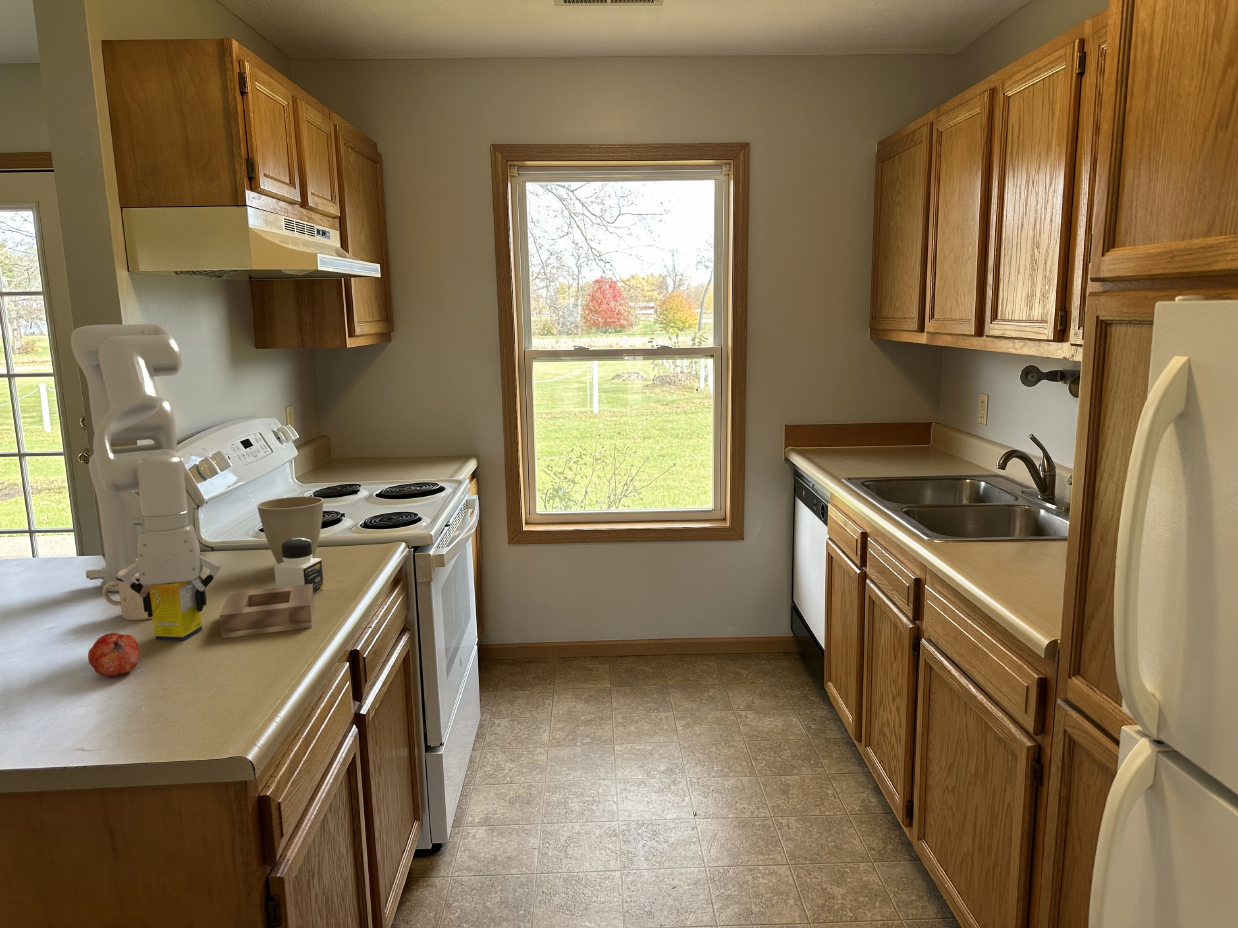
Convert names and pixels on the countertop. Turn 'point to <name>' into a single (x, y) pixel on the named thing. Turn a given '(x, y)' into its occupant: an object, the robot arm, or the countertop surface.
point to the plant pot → (291, 521)
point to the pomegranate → (114, 654)
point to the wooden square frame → (267, 611)
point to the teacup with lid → (127, 597)
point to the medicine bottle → (299, 566)
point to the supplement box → (175, 611)
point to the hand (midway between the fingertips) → (176, 611)
